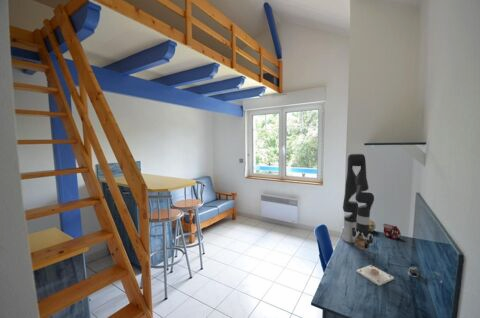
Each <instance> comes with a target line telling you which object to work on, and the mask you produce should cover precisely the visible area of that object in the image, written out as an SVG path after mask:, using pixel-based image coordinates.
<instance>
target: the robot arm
mask: <svg viewBox="0 0 480 318" xmlns="http://www.w3.org/2000/svg"><path fill="white" fill-rule="evenodd" d="M366 163H367V162H366V156H365V154H363V153H349V154H348V156H347V172H346V178H345V179H346V180H345V189H344V190H345V191H344V197H343V201H342V202H343V205H342V211H343V212H345V213H350V214H346V215H345V216H344V219H343V220H344V221H343V222H344V223H343V227H342V238H341V239H342V240H343V241H344V242H346V243H349V244H355V237H359V236H361V237H363V239H364V240H365V250H368V249H369V248H370V245H371V244H373V241H374V238H375V236H374V234H371V233H370V231H369V227H370V219H371V218H370V216H371V209H372V206H373V204H374V201H375V196H374V194H373V193H372V192H367V191H368V190H369V183H368V178H367V164H366ZM353 167H360V170H359V171H358V173H357V174H356V173H355V171H354V170H353V169H354V168H353ZM353 196H355V201H354V200H350V199H352V197H353ZM358 203H359V204H364V205H359V204H358ZM367 248H368V249H367Z"/></svg>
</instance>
